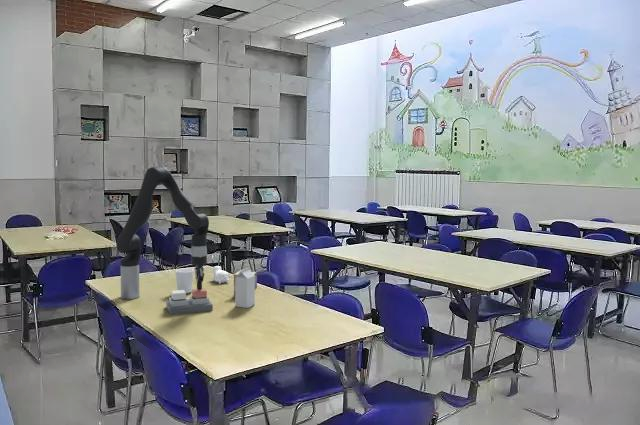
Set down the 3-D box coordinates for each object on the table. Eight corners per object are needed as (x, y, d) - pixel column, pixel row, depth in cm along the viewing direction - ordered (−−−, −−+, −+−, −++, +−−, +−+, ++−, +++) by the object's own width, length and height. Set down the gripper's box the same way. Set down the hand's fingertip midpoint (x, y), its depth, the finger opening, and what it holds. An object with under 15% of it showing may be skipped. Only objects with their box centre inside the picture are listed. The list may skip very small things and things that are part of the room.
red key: (194, 298, 254) (194, 291, 253) (192, 295, 259) (192, 289, 259) (206, 296, 256) (206, 290, 256) (204, 294, 262) (204, 288, 261)
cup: (183, 296, 280) (182, 272, 279) (171, 293, 286) (171, 270, 284) (197, 292, 288) (197, 270, 286) (186, 289, 294) (186, 267, 292)
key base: (170, 314, 246) (170, 303, 245) (166, 307, 259) (166, 296, 258) (212, 310, 254) (212, 299, 253) (206, 303, 267) (206, 292, 266)
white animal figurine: (229, 287, 313) (221, 274, 325) (231, 275, 310) (223, 262, 321) (216, 289, 309) (208, 275, 320) (218, 277, 305) (209, 263, 317)
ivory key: (173, 299, 250) (173, 293, 249) (171, 296, 255) (171, 290, 255) (185, 298, 252) (185, 292, 252) (183, 295, 258) (183, 289, 257)
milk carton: (254, 304, 265) (254, 268, 263) (247, 308, 259) (247, 270, 257) (242, 303, 268) (243, 266, 266) (235, 306, 262) (235, 269, 260)
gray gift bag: (246, 287, 303) (246, 266, 302) (257, 287, 302) (257, 266, 300) (233, 296, 282) (233, 273, 281) (244, 297, 281) (244, 274, 279)
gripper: (188, 252, 260) (189, 287, 262) (193, 257, 248) (194, 293, 250) (204, 252, 263) (204, 285, 265) (209, 256, 251) (209, 291, 253)
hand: (199, 289), depth 257 cm, fingers closed
